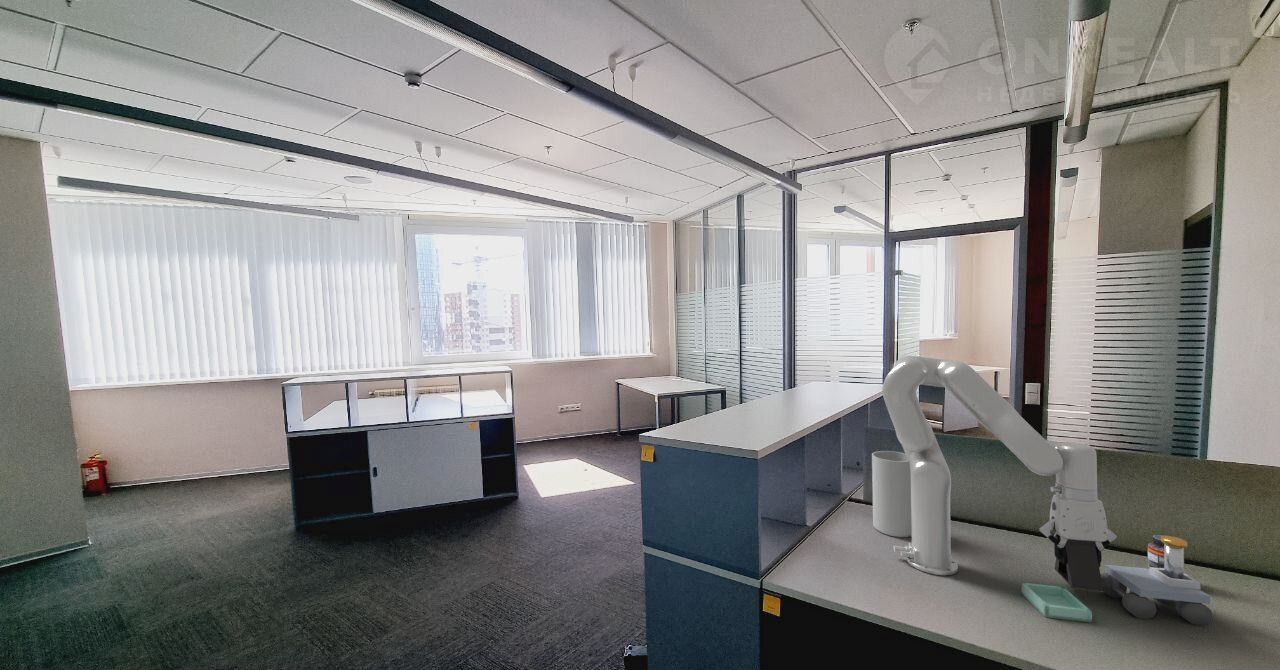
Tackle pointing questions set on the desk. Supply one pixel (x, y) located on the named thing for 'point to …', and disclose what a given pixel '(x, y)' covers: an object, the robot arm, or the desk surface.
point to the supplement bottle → (1156, 553)
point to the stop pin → (1174, 556)
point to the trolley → (1156, 592)
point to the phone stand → (1080, 565)
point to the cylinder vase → (891, 493)
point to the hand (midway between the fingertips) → (1077, 562)
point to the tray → (1056, 602)
